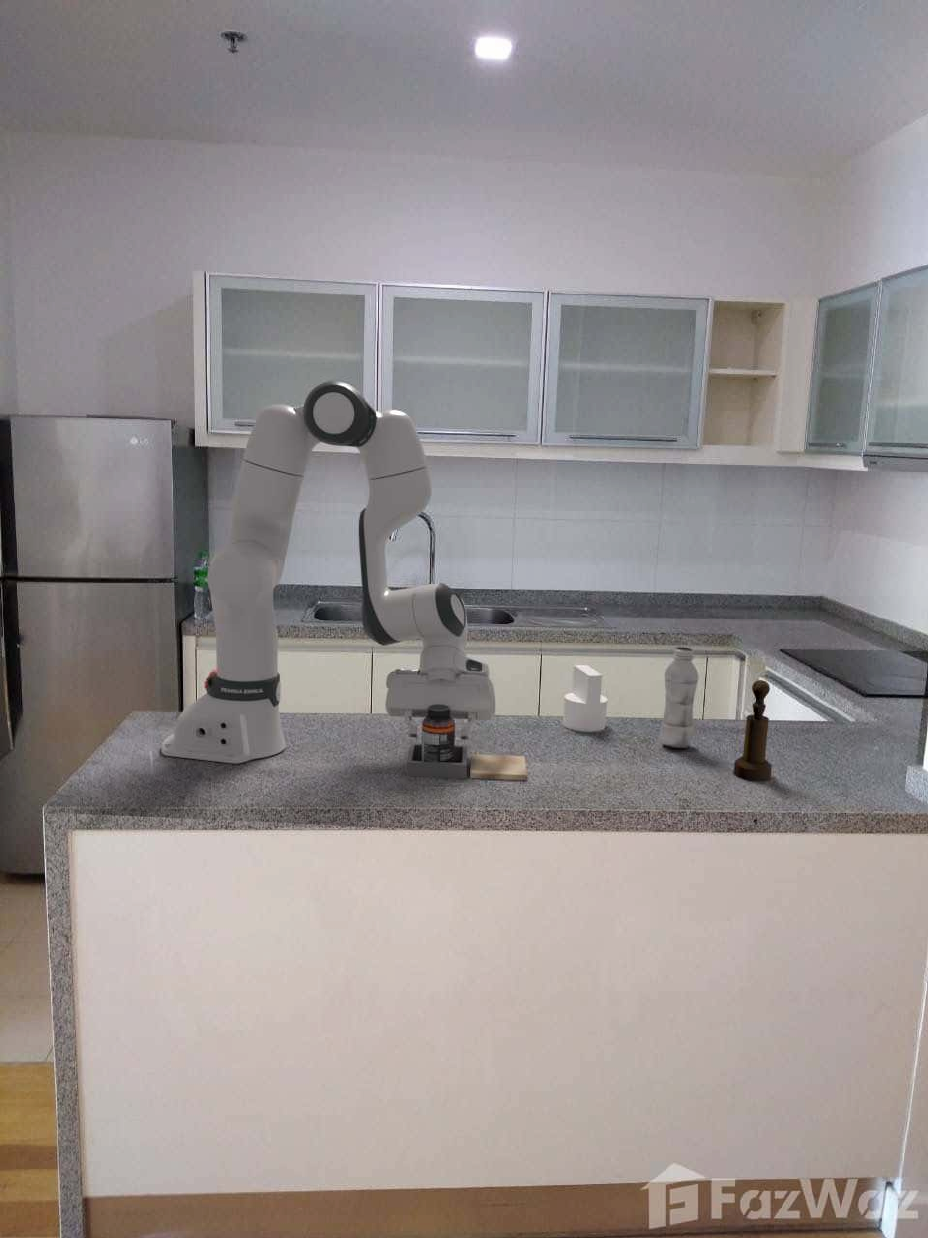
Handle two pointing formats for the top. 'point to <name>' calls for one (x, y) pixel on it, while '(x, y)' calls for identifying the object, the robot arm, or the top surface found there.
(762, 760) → the brown wooden upright piece
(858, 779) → the top surface
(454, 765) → the holder
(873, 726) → the top surface
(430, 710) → the supplement bottle
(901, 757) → the top surface
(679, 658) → the plastic bottle
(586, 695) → the base with upright slab
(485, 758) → the coaster
